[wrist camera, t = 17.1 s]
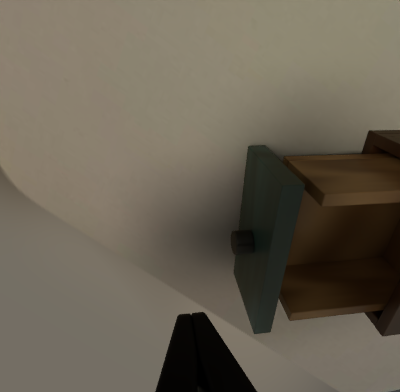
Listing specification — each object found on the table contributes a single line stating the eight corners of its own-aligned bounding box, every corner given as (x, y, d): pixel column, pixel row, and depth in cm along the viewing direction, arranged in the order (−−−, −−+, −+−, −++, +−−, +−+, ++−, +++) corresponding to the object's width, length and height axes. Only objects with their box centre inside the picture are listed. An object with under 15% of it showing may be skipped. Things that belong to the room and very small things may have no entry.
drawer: (219, 274, 24) (236, 336, 19) (230, 145, 18) (258, 186, 13) (375, 260, 26) (428, 313, 21) (428, 141, 20) (517, 175, 15)
